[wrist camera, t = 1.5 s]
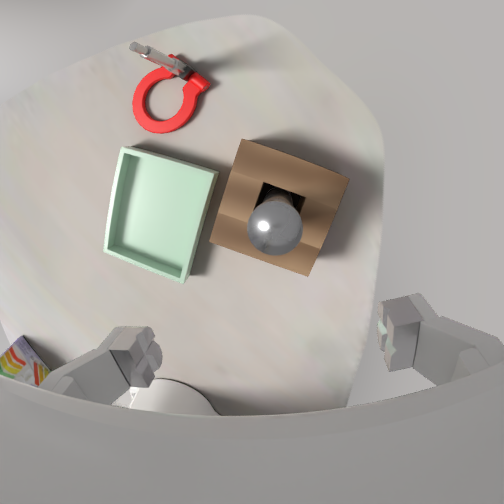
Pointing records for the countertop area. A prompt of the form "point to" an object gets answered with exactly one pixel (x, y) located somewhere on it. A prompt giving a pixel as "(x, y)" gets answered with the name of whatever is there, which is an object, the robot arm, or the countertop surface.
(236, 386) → the countertop surface
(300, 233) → the pin
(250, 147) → the block
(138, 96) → the tow hook
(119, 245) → the tray
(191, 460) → the robot arm
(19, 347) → the cake pan box
